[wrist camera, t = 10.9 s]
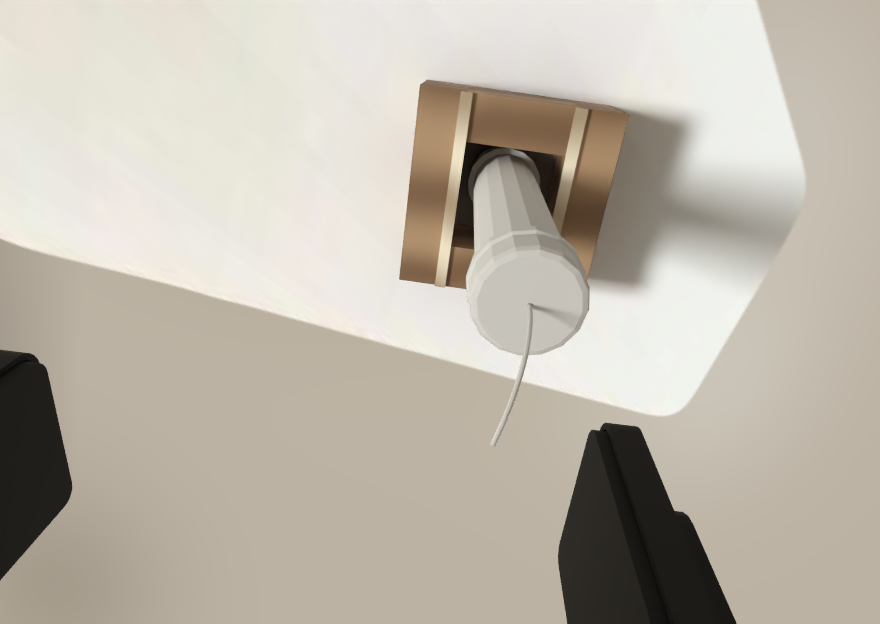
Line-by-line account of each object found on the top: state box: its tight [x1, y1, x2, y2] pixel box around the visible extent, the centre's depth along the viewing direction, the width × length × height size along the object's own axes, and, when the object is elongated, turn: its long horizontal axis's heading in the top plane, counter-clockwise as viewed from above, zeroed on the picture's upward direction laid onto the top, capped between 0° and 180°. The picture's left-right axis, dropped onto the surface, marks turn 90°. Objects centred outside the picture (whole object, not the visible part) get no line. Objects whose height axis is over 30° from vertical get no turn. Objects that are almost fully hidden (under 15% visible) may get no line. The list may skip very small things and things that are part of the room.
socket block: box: [399, 80, 629, 289], centre depth 44 cm, size 14×14×6 cm
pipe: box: [466, 146, 589, 446], centre depth 34 cm, size 6×6×30 cm
